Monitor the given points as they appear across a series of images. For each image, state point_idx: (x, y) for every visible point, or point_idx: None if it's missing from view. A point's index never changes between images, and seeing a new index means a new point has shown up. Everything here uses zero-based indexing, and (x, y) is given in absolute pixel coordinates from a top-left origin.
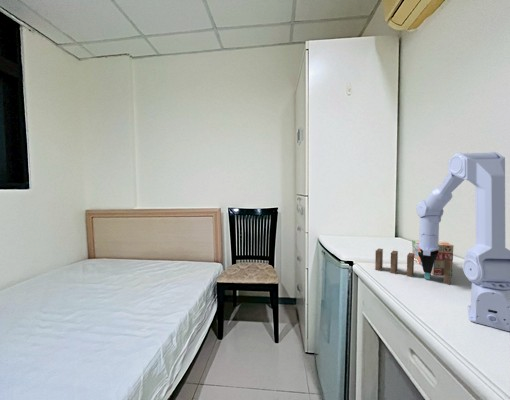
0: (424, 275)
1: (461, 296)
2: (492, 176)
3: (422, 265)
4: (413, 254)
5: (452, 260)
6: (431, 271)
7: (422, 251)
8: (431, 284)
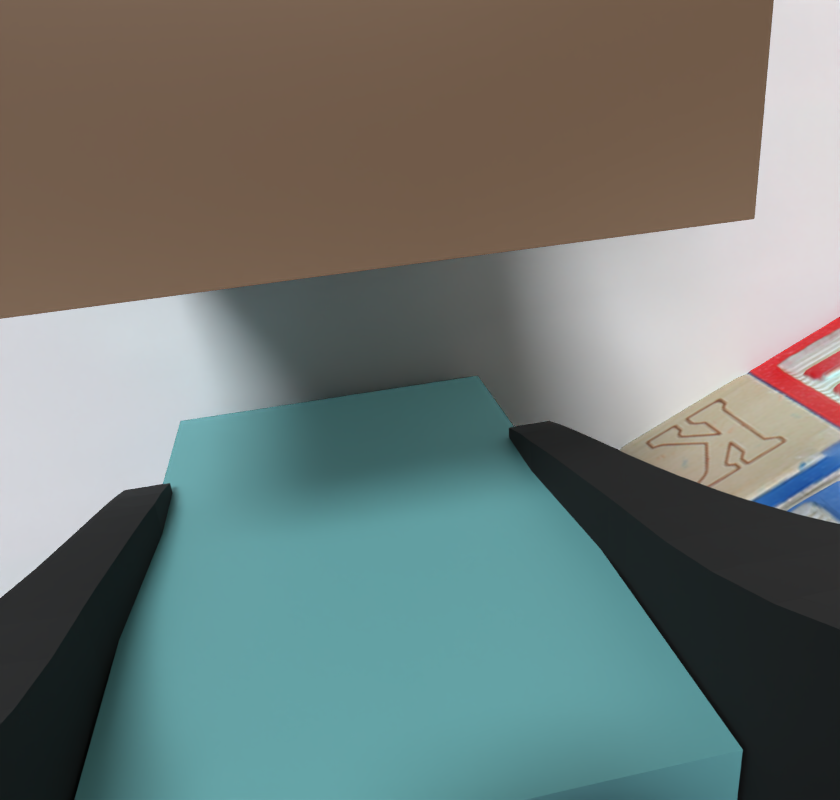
0: (173, 450)
1: None
2: None
3: (18, 583)
4: (494, 251)
5: None
6: (712, 423)
7: (830, 705)
8: (3, 559)
